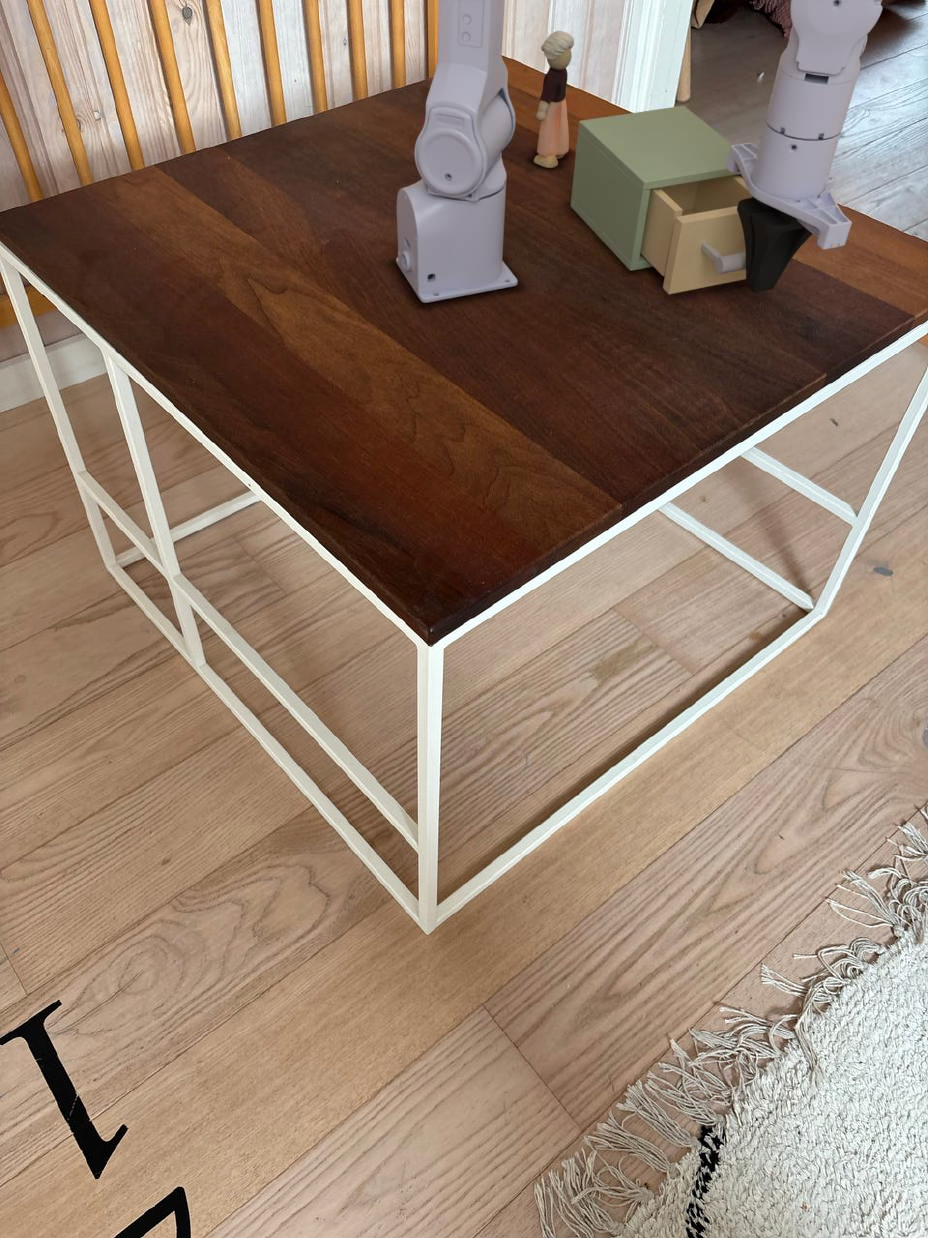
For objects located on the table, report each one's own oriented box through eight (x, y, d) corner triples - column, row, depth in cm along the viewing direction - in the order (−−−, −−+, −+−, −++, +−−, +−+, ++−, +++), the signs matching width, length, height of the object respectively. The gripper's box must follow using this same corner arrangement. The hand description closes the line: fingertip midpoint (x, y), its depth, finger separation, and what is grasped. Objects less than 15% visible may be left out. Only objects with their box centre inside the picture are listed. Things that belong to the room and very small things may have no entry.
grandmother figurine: (563, 173, 108) (574, 46, 98) (528, 170, 108) (536, 42, 99) (572, 143, 113) (584, 19, 103) (538, 140, 113) (547, 16, 104)
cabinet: (735, 250, 97) (756, 163, 91) (630, 271, 95) (644, 181, 88) (668, 189, 106) (683, 104, 99) (570, 206, 103) (578, 120, 96)
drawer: (791, 297, 90) (812, 225, 85) (691, 318, 88) (706, 245, 83) (699, 213, 100) (714, 145, 95) (607, 230, 98) (617, 160, 93)
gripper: (906, 157, 72) (848, 322, 82) (795, 81, 81) (755, 239, 91) (824, 171, 70) (775, 338, 81) (719, 92, 79) (687, 251, 89)
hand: (759, 286), depth 86 cm, fingers closed
